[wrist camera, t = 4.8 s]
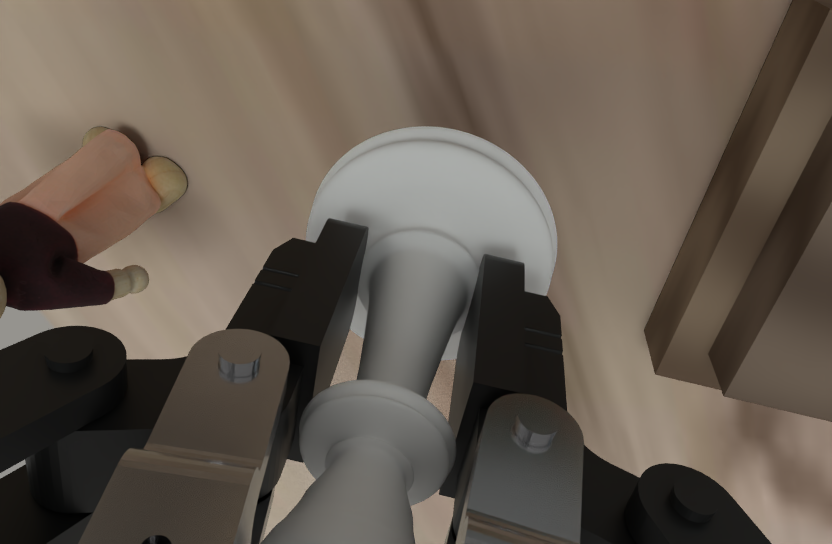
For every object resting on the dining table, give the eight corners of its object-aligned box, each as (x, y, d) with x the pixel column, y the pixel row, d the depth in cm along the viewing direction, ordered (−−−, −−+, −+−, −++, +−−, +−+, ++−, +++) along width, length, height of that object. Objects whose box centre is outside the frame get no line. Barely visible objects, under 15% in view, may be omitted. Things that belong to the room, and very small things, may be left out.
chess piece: (520, 366, 16) (492, 996, 7) (299, 313, 16) (17, 867, 7) (590, 159, 13) (679, 766, 5) (325, 97, 13) (-69, 574, 5)
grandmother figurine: (217, 155, 29) (37, 336, 18) (202, 234, 31) (31, 439, 20) (33, 89, 29) (-263, 235, 18) (29, 173, 31) (-240, 350, 20)
